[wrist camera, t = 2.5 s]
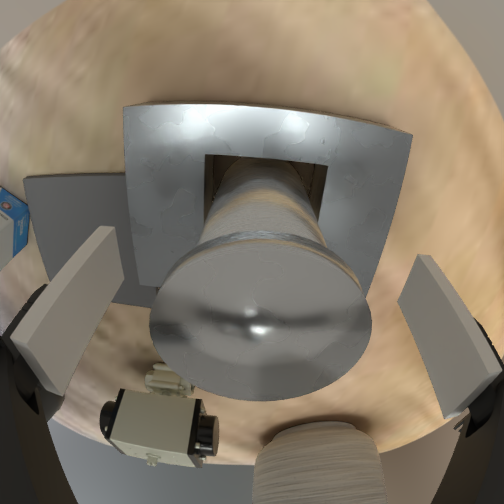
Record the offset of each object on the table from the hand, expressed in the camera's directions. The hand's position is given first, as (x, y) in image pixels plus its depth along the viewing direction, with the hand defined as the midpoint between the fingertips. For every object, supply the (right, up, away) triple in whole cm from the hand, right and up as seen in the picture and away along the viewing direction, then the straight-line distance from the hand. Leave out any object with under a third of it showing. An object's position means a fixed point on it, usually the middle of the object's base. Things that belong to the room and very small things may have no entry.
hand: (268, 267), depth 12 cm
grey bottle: (0, +5, +8) cm, 9 cm away
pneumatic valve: (-10, -13, +19) cm, 25 cm away
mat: (-14, +1, +10) cm, 18 cm away
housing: (0, +5, +8) cm, 9 cm away
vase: (+10, -30, +29) cm, 43 cm away
